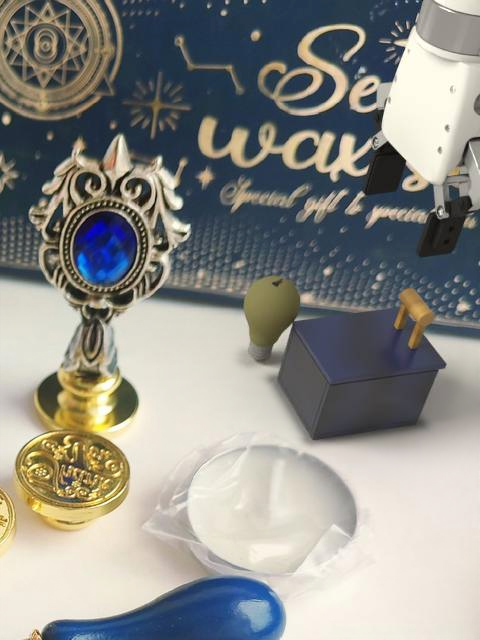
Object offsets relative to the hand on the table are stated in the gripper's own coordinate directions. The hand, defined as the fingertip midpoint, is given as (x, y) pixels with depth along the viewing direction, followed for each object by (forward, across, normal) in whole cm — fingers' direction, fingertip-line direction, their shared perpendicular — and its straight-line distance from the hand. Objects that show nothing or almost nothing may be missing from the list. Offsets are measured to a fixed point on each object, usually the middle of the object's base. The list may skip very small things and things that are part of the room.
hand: (405, 221), depth 93 cm
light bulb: (+23, +10, +5) cm, 25 cm away
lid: (+15, +2, -2) cm, 16 cm away
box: (+22, +2, -1) cm, 23 cm away
